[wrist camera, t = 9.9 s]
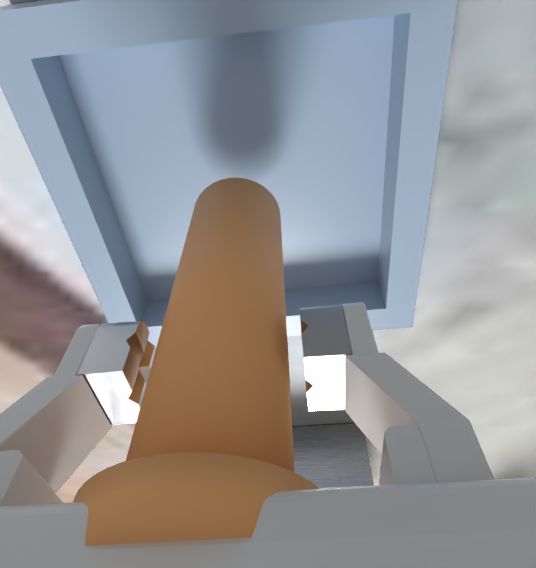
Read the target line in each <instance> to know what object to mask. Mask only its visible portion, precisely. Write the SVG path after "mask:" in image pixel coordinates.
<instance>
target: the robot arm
mask: <svg viewBox="0 0 536 568" xmlns="http://www.w3.org/2000/svg"><path fill="white" fill-rule="evenodd" d="M300 321H301V334H302V346H303V358H304V368H305V380H306V390H307V400H308V410H309V411H327V410H345V412H346V413H347V414H348V415H349V416H350V418H351V419H352V420H353V421H354V422H355V424H356V425H357V426H358V427H359V428H360V430H361V431H362V432H363V433H364V434H365V436H366V437H367V438H368V439H369V440H370V442H371V443H372V444H373V445H374V446H375V448H376V449H377V450H378V451H379V452H380V454H381V455H382V460H381V469H380V479H379V486H365V487H347V488H329V489H311V490H292V491H280V492H277V493H275V494H273V495H271V496H270V497H268V498H267V499H266V500H265V502H264V503H263V506H262V509H261V512H260V515H259V518H258V521H257V524H256V527H255V530H254V533H253V535H252V537H247V538H227V539H207V540H188V541H168V542H148V543H128V544H109V545H89V546H85V536H86V528H87V519H88V507H87V506H86V504H85V503H83V502H72V503H64V502H63V500H62V499H61V498H60V497H59V496H58V495H57V493H56V492H57V491H58V490H59V489H60V488H61V486H62V485H63V484H64V483H65V482H66V481H67V479H68V478H69V477H70V476H71V475H72V473H73V472H74V471H75V470H76V469H77V468H78V466H79V465H80V464H81V463H82V462H83V461H84V459H85V458H86V457H87V456H88V455H89V453H90V452H91V451H92V450H93V449H94V448H95V446H96V445H97V444H98V443H99V442H100V441H101V439H102V438H103V437H104V436H105V435H106V433H107V432H108V431H109V430H110V429H111V428H112V426H111V425H119V424H130V423H136V422H137V418H138V414H139V410H140V407H141V403H142V399H143V396H144V392H145V388H146V385H147V381H148V377H149V373H150V370H151V366H152V362H153V359H154V355H155V351H156V348H155V345H153V344H152V343H150V342H149V341H147V340H148V337H149V334H150V332H149V330H148V328H147V325H146V323H145V322H142V321H136V322H119V323H102V324H92V325H82V326H80V327H79V328H78V329H77V330H76V332H75V334H74V336H73V338H72V340H71V342H70V344H69V346H68V348H67V350H66V352H65V354H64V356H63V358H62V360H61V362H60V364H59V366H58V368H57V370H56V372H55V374H54V376H53V377H50V378H46V379H45V380H43V381H42V382H41V383H40V384H38V385H37V386H36V387H34V388H33V389H32V390H31V391H29V392H28V393H27V394H25V395H24V396H23V397H22V398H20V399H19V400H18V401H16V402H15V403H14V404H13V405H11V406H10V407H9V408H7V409H6V410H5V411H4V412H2V413H1V414H0V568H536V477H531V478H513V479H494V478H493V475H492V473H491V470H490V468H489V466H488V463H487V461H486V459H485V456H484V454H483V451H482V449H481V447H480V444H479V442H478V440H477V437H476V435H475V432H474V430H473V428H472V425H471V423H470V421H469V420H468V419H467V418H466V417H465V416H463V415H462V414H461V413H460V412H458V411H457V410H456V409H455V408H453V407H452V406H451V405H450V404H448V403H447V402H446V401H445V400H443V399H442V398H441V397H440V396H438V395H437V394H436V393H435V392H434V391H432V390H431V389H430V388H429V387H427V386H426V385H425V384H424V383H422V382H421V381H420V380H419V379H417V378H416V377H415V376H414V375H412V374H411V373H410V372H409V371H407V370H406V369H405V368H404V367H402V366H401V365H400V364H399V363H397V362H396V361H395V360H394V359H392V358H391V357H390V356H389V355H387V354H386V353H378V350H377V346H376V342H375V339H374V335H373V331H372V328H371V324H370V320H369V317H368V313H367V309H366V306H365V304H364V303H363V302H357V303H347V304H342V305H329V306H318V307H307V308H300Z"/></svg>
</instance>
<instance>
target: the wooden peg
mask: <svg viewBox="0 0 536 568" xmlns="http://www.w3.org/2000/svg"><path fill="white" fill-rule="evenodd" d="M311 489H319V488H318V487H317V486H316V485H315V484H313V483H312V482H310V481H309V480H307V479H306V478H304V477H303V476H300V475H298V474H296V473H295V471H294V453H293V435H292V416H291V398H290V379H289V361H288V342H287V324H286V306H285V287H284V269H283V250H282V232H281V214H280V209H279V206H278V203H277V201H276V199H275V198H274V196H273V195H272V194H271V193H270V192H269V190H267V189H266V188H265V187H264V186H262V185H261V184H259V183H257V182H255V181H252V180H249V179H245V178H226V179H222V180H219V181H216V182H214V183H212V184H211V185H209V186H208V187H207V188H205V189H204V190H203V191H202V193H201V194H200V195H199V197H198V199H197V201H196V203H195V206H194V210H193V214H192V217H191V221H190V225H189V229H188V232H187V236H186V240H185V243H184V247H183V251H182V255H181V258H180V262H179V266H178V269H177V273H176V277H175V281H174V284H173V288H172V292H171V295H170V299H169V303H168V307H167V310H166V314H165V318H164V321H163V325H162V329H161V333H160V336H159V340H158V344H157V347H156V351H155V355H154V359H153V362H152V366H151V370H150V373H149V377H148V381H147V385H146V388H145V392H144V396H143V399H142V403H141V407H140V410H139V414H138V418H137V422H136V425H135V429H134V433H133V436H132V440H131V444H130V448H129V451H128V455H127V459H126V461H125V462H122V463H119V464H117V465H114V466H111V467H109V468H106V469H105V470H103V471H101V472H99V473H97V474H96V475H94V476H93V477H91V478H90V479H89V480H87V481H86V482H85V483H84V484H83V485H82V487H81V488H80V489H79V490H78V492H77V494H76V496H75V498H74V501H73V502H83V503H85V504H86V506H87V507H88V519H87V528H86V536H85V546H89V545H109V544H128V543H148V542H168V541H188V540H207V539H227V538H247V537H252V535H253V533H254V530H255V527H256V524H257V521H258V518H259V515H260V512H261V509H262V506H263V503H264V502H265V500H266V499H267V498H268V497H270V496H271V495H273V494H275V493H277V492H280V491H292V490H311Z"/></svg>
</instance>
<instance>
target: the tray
mask: <svg viewBox="0 0 536 568" xmlns="http://www.w3.org/2000/svg"><path fill="white" fill-rule="evenodd" d="M456 8H457V0H41V1H34V2H26V3H18V4H11V5H6V6H2V7H0V86H1V88H2V90H3V93H4V95H5V97H6V99H7V101H8V104H9V106H10V108H11V110H12V112H13V114H14V117H15V119H16V121H17V123H18V125H19V128H20V130H21V132H22V134H23V136H24V139H25V141H26V143H27V145H28V147H29V149H30V152H31V154H32V156H33V158H34V160H35V163H36V165H37V167H38V169H39V171H40V174H41V176H42V178H43V180H44V182H45V185H46V187H47V189H48V191H49V193H50V195H51V198H52V200H53V202H54V204H55V206H56V209H57V211H58V213H59V215H60V217H61V220H62V222H63V224H64V226H65V228H66V231H67V233H68V235H69V237H70V239H71V241H72V244H73V246H74V248H75V250H76V252H77V255H78V257H79V259H80V261H81V263H82V266H83V268H84V270H85V272H86V274H87V277H88V279H89V281H90V283H91V285H92V287H93V290H94V292H95V294H96V296H97V298H98V301H99V303H100V305H101V307H102V309H103V312H104V314H105V316H106V318H107V320H108V323H119V322H136V321H142V322H145V323H146V325H147V328H148V330H149V332H150V334H149V337H148V340H147V341H149V342H150V343H152V344H153V345H155V346H157V344H158V340H159V336H160V333H161V329H162V325H163V321H164V318H165V314H166V310H167V307H168V303H169V299H170V295H171V292H172V288H173V284H174V281H175V277H176V273H177V269H178V266H179V262H180V258H181V255H182V251H183V247H184V243H185V240H186V236H187V232H188V229H189V225H190V221H191V217H192V214H193V210H194V206H195V203H196V201H197V199H198V197H199V195H200V194H201V193H202V191H203V190H204V189H205V188H207V187H208V186H209V185H211V184H212V183H214V182H216V181H219V180H222V179H226V178H245V179H249V180H252V181H255V182H257V183H259V184H261V185H262V186H264V187H265V188H266V189H267V190H269V192H270V193H271V194H272V195H273V196H274V198H275V199H276V201H277V203H278V206H279V209H280V214H281V232H282V250H283V269H284V287H285V306H286V324H287V336H299V335H302V334H301V321H300V308H307V307H318V306H329V305H342V304H347V303H357V302H363V303H364V304H365V306H366V309H367V313H368V317H369V320H370V324H371V328H372V330H381V329H395V328H409V327H413V320H414V312H415V305H416V298H417V291H418V283H419V276H420V269H421V262H422V254H423V247H424V240H425V233H426V225H427V218H428V211H429V204H430V196H431V189H432V182H433V175H434V167H435V160H436V153H437V146H438V138H439V131H440V124H441V117H442V109H443V102H444V95H445V88H446V80H447V73H448V66H449V59H450V51H451V44H452V37H453V29H454V22H455V15H456Z"/></svg>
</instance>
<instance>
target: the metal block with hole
mask: <svg viewBox="0 0 536 568" xmlns="http://www.w3.org/2000/svg"><path fill="white" fill-rule="evenodd" d="M292 435H293V453H294V471H295V473H296V474H298V475H300V476H303V477H304V478H306V479H307V480H309V481H310V482H312V483H313V484H315V485H316V486H317V487H318V488H319V489H329V488H347V487H365V486H374V485H373V480H372V474H371V469H370V464H369V459H368V453H367V448H366V443H365V438H364V433H363V432H362V431H361V430H360V428H359V427H358V426H357V425H356V424H355V423H349V424H332V425H315V426H298V427H292Z"/></svg>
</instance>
